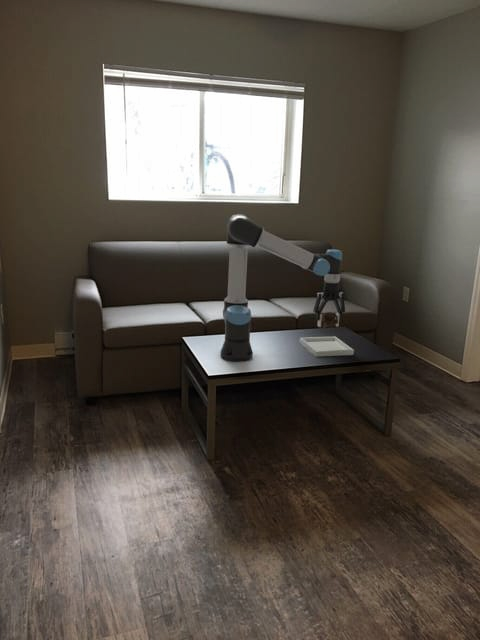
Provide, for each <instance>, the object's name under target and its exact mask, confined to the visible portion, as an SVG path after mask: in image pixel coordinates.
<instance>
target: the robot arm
mask: <svg viewBox="0 0 480 640" xmlns="http://www.w3.org/2000/svg"><path fill="white" fill-rule="evenodd" d="M225 229H226V244H227V245H228V248H229V255H228V257H229V258H228V261H229V262H228V275H227V276H228V279H227V280H228V281H227V296H226V297H225V298H224V299H223V300H224V301H223V310H222V316H223V318H222V319H224V325H225V326H224V327H225V328H224V341H223V344H222V347H221V348H220V349H221V350H220V358H222V359H223V360H225V361H229V362H236V363H238V362H239V363H240V362H247V361H250V360H252V359H253V356H254V355H253V353H254V352H253V349H252V345H251V341H250V340H251V338H250V337H251V320H252V311H251V309H250V308H249V300H248V299H247V298H246V286H247V272H248V271H247V268H248V253H249V247H252V248H259V249H262V250H264V251H266V252H268V253H271V254H273V255H275V256H277V257H280V258H282V259H284V260H286V261H288V262H290V263H292V264H295V265H297V266H298V267H299V266H300V267H301V269H303V270H308V271H310V272H313V273H314V274H315V275H317V276H320V277H322V276H324V277H323V281H324V282H323V291H322V292H317V293H316V300H315V304H314V307H313V313H315V314H316V315H317V317H316V321H317V327H318V328H322V323H321V320H322V314H323V313H322V312H323V310H324V308H325V307H326V305H327V303H328V302H329V301H333V303H334V306H335V308H336V313H335V314H336V315H337V318H338V319H337V320H338V323H337V324H336V325H335V326H336V327H340V325H339V324H340V320H341V318H342V315H343V313H345V312H346V304H345V293H344V292H342V291H340V282H341V281H340V280H341V271H342V262H343V252H342V251H341V250H339V249H332V248H330V249H327V250H326V252H325V253H313V252H310V251H308V250H307V249H304V248H302V247H300V246H297V245H296V244H293V243H291V242H289V241H287V240H285V239H283V238H281V237H279V236H276V235H275V234H272V233H270V232H268V231H266V230H265V228H264V227H263V226H261V225H258V223H255V221H253V220H252V219H250V218H249V216H248V215H245V214H242V213H240V214H239V213H237V214H233V215H232V216H231V217H230V218H229V219H228V220H227V223H226V228H225ZM338 297H339V299H338ZM321 301H322V302H321ZM321 313H322V314H321ZM334 319H336V317H334Z"/></svg>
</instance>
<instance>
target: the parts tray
mask: <svg viewBox="0 0 480 640" xmlns="http://www.w3.org/2000/svg"><path fill="white" fill-rule="evenodd" d="M298 343H300V344H301V345H302V346H303V347H304V348H305V349H306V350H307V351H309V352H310V353H311V354H312V355H313V356H314V357H333V356H335V357H336V356H354V352H355V349H353V348H352V347H350V346H349V345H348V344H346V343H345V342H344V341H342V340H341V339H339V338H338V337H337V336H311V337H305V336H304V337H299V342H298Z"/></svg>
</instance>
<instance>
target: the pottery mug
mask: <svg viewBox="0 0 480 640" xmlns="http://www.w3.org/2000/svg"><path fill="white" fill-rule="evenodd" d="M321 314H322V320H321V324H323V325H322V328H323V329H326V328H331V327H334V326H336V324H337V323H338V320H337V319H338V318H337V315H336V313H334V312H331V311H327V312H325V313H322V312H321ZM315 317H316V318H317V314H316V316H315ZM333 318H334V319H335V318H336V319H335V320H333Z"/></svg>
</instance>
